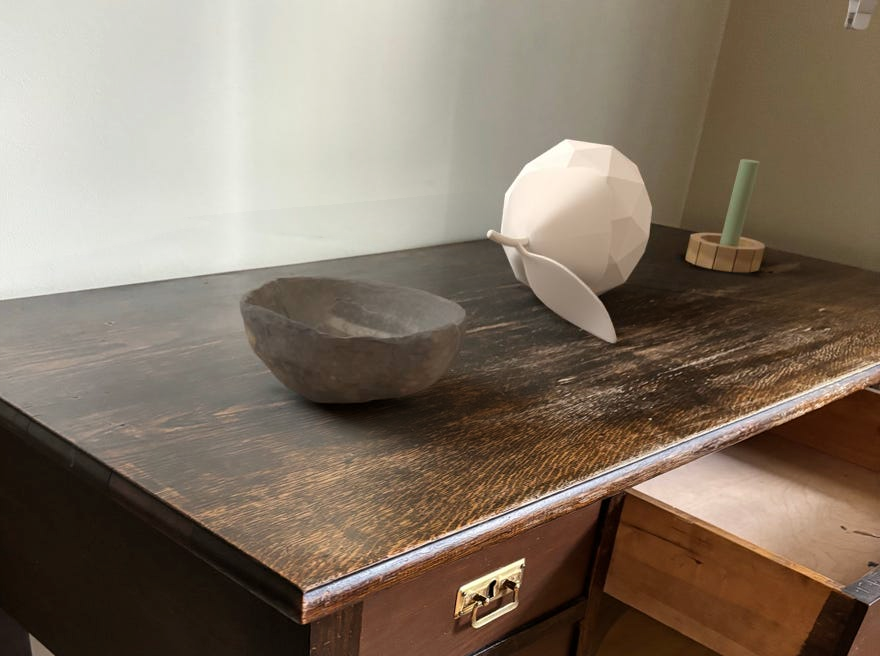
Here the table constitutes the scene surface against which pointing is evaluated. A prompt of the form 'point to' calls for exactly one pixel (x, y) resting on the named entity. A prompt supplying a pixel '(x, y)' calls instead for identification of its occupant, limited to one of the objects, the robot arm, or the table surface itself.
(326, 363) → the bowl
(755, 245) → the ring
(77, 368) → the table surface
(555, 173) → the pear ornament
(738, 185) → the green post
